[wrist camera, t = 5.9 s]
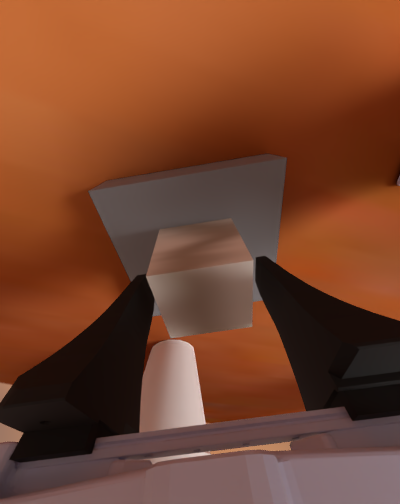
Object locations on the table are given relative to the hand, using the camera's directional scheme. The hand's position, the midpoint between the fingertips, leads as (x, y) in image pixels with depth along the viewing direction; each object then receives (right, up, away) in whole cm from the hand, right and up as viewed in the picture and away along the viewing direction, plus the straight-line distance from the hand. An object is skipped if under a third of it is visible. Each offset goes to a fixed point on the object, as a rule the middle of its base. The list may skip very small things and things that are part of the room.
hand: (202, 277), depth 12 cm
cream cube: (0, +2, +2) cm, 2 cm away
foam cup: (-4, -13, +15) cm, 20 cm away
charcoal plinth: (0, +3, +5) cm, 5 cm away
